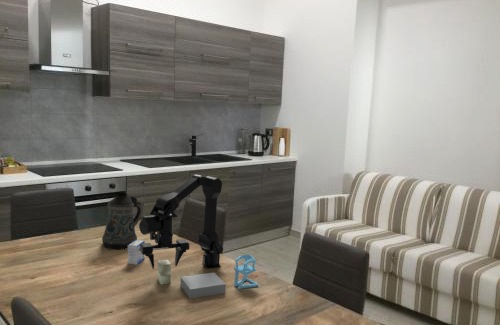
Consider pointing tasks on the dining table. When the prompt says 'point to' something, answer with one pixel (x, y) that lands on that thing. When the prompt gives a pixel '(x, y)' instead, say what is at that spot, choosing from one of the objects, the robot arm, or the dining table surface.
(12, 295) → the dining table surface
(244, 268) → the light blue lattice frame
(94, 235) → the dining table surface
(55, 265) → the dining table surface
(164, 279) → the sage block
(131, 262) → the medicine box
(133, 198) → the beer stein
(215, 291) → the grey block
